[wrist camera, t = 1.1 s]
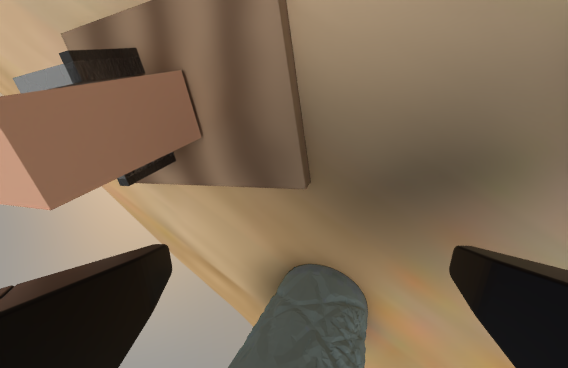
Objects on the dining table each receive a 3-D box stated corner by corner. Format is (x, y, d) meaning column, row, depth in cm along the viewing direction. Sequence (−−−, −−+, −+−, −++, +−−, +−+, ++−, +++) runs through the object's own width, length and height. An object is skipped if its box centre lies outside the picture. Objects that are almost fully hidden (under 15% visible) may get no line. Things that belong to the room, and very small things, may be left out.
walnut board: (280, -39, 15) (271, -44, 14) (310, 182, 21) (305, 189, 20) (75, 33, 24) (60, 33, 23) (137, 177, 29) (127, 182, 28)
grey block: (136, 47, 20) (67, 50, 16) (176, 160, 24) (129, 185, 20) (77, 63, 24) (7, 69, 19) (120, 161, 27) (70, 183, 23)
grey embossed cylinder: (263, 288, 30) (191, 411, 20) (308, 236, 24) (236, 374, 14) (339, 345, 29) (302, 501, 19) (404, 306, 23) (399, 502, 13)
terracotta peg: (181, 70, 19) (-18, 99, 10) (201, 137, 21) (50, 210, 12) (125, 81, 22) (-73, 112, 13) (148, 140, 24) (-9, 203, 15)
